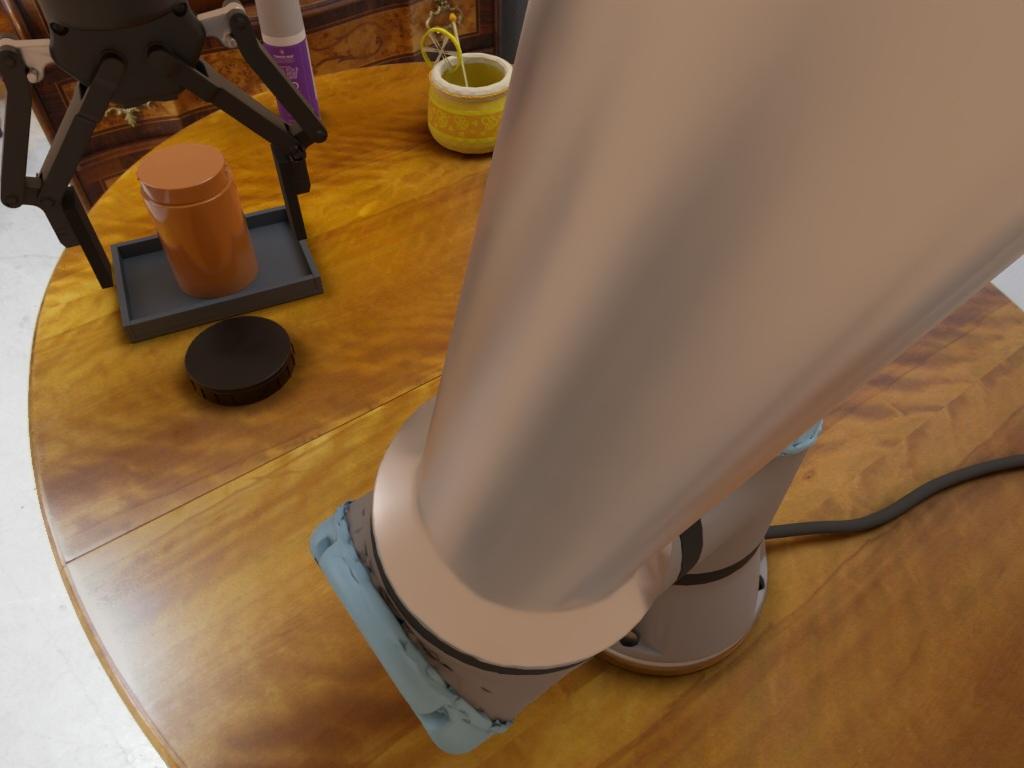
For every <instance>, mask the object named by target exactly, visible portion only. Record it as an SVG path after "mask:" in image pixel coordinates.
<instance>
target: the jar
mask: <svg viewBox="0 0 1024 768" xmlns="http://www.w3.org/2000/svg"><path fill="white" fill-rule="evenodd" d="M139 163H140V164H139V165H138V166H137V169H136V171H135V175H136V176H135V177H136V179H137V181H139V182H140V186H139V192H140V195H141V198H142V200H143V202H144V205H145V208H146V210H147V212H148V216H149V217H150V220H151V223H152V225H153V227H154V231H155V232H156V234H157V235H158V237H159V240H160V242H161V245H162V247H163V250H164V252H165V255H166V257H167V260H168V262H169V265H170V267H171V270H172V272H173V275H174V277H175V280H176V282H177V284H178V286H179V288H180V289H181V290H182V291H183V292H185V293H186V294H188V295H190V296H193V297H197V298H203V299H215V298H221V297H225V296H229V295H232V294H235V293H237V292H239V291H241V290H243V289H244V288H246V287H247V286H248V285H250V284H251V283H252V282H253V280H254V279H255V278H256V276H257V274H258V271H259V262H258V259H257V255H256V252H255V248H254V245H253V242H252V238H251V235H250V231H249V228H248V225H247V221H246V218H245V214H246V213H245V212H244V208H243V204H242V201H241V197H240V195H239V191H238V190H239V189H238V187H237V184H236V180H235V177H234V173H233V171H232V169H231V168H230V166H229V165H228V162H227V159H226V158H225V157H224V154H223V153H222V152H221V151H220V149H218V148H216V147H215V146H212V145H209V144H205V143H200V142H183V143H176V144H172V145H168V146H165V147H162V148H159V149H157V150H155V151H153V152H152V153H150V154H149V155H147V156H145V157H144V159H143V160H141V162H139Z"/></svg>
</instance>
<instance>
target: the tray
mask: <svg viewBox="0 0 1024 768" xmlns="http://www.w3.org/2000/svg"><path fill="white" fill-rule="evenodd" d="M244 214H245V218H246V221H247V225H248V228H249V231H250V235H251V238H252V242H253V245H254V248H255V252H256V255H257V259H258V262H259V271H258V274H257V276H256V278H255V279H254V280H253V282H252V283H251V284H250V285H248V286H247V287H246V288H244V289H243V290H241V291H239V292H237V293H235V294H232V295H229V296H225V297H221V298H215V299H203V298H197V297H193V296H190V295H188V294H186V293H185V292H183V291H182V290H181V289H180V288H179V286H178V284H177V282H176V280H175V277H174V275H173V272H172V270H171V267H170V265H169V262H168V260H167V257H166V255H165V252H164V250H163V247H162V245H161V242H160V240H159V237H158V235H157V233H156V234H152V235H147V236H143V237H139V238H134V239H130V240H126V241H122V242H117V243H113V244H110V245H109V249H110V254H111V260H112V268H113V272H114V278H115V279H114V280H115V285H116V291H117V298H118V304H119V310H120V311H119V312H120V317H121V324H122V328H123V331H124V332H125V334H126V336H127V339H128V340H129V342H130V343H131V344H134V343H138V342H141V341H145V340H149V339H152V338H157V337H160V336H163V335H164V336H165V335H168V334H171V333H172V334H173V333H176V332H179V331H182V330H186V329H190V328H194V327H198V326H202V325H206V324H210V323H214V322H217V321H222V320H226V319H229V318H233V317H237V316H241V315H243V314H247V313H251V312H255V311H258V310H262V309H266V308H270V307H273V306H277V305H281V304H285V303H288V302H293V301H295V300H301V299H304V298H309V297H311V296H315V295H319V294H323V293H324V292H325V291H324V287H323V281H322V277H321V274H320V271H319V270H318V267H317V265H316V262H315V260H314V258H313V255H312V252H311V250H310V248H309V246H308V244H307V241H306V239H305V240H301V241H297V239H296V237H295V234H294V232H293V229H292V227H291V225H290V222H289V219H288V215H287V211H286V207H285V204H283V205H278V206H275V207H270V208H266V209H262V210H257V211H252V212H247V213H244Z"/></svg>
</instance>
